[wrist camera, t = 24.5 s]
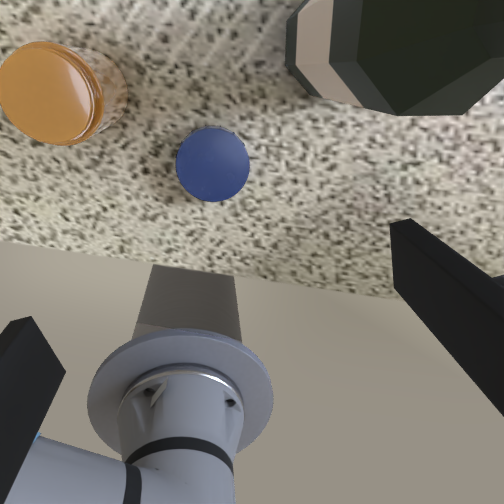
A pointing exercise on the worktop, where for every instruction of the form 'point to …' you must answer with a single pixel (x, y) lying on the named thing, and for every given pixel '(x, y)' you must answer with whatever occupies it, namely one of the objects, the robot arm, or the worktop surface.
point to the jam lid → (212, 163)
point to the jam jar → (61, 92)
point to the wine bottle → (398, 53)
